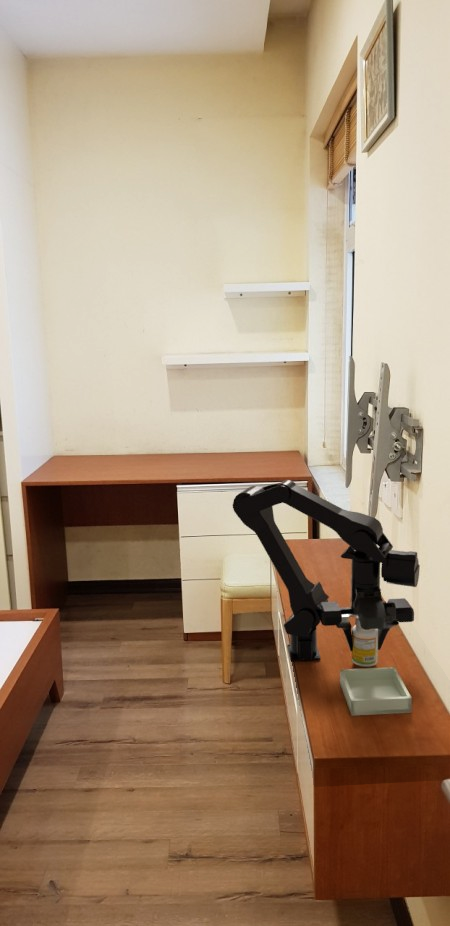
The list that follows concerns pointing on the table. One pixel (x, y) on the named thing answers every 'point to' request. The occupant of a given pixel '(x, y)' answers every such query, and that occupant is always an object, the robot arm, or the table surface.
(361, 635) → the supplement bottle
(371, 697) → the tray
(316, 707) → the table surface
